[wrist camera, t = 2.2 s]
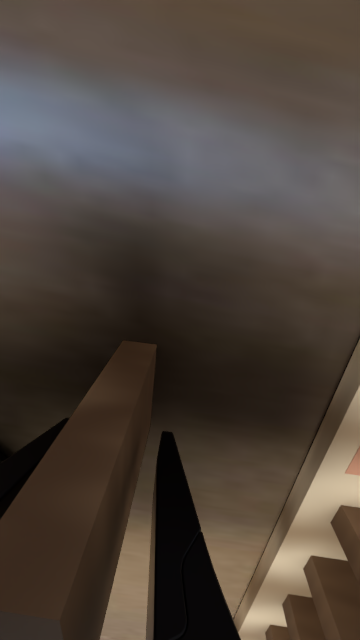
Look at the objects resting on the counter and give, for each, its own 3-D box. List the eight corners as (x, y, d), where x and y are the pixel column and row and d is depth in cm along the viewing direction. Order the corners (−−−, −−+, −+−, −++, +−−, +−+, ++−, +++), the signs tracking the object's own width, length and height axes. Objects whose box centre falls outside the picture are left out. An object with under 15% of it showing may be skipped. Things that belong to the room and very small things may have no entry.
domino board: (331, 641, 20) (337, 661, 19) (230, 625, 20) (232, 645, 19) (635, 298, 8) (690, 306, 7) (390, 269, 9) (414, 273, 8)
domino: (157, 344, 10) (59, 620, 3) (150, 425, 12) (79, 721, 5) (123, 340, 10) (-56, 601, 3) (121, 421, 12) (8, 708, 5)
